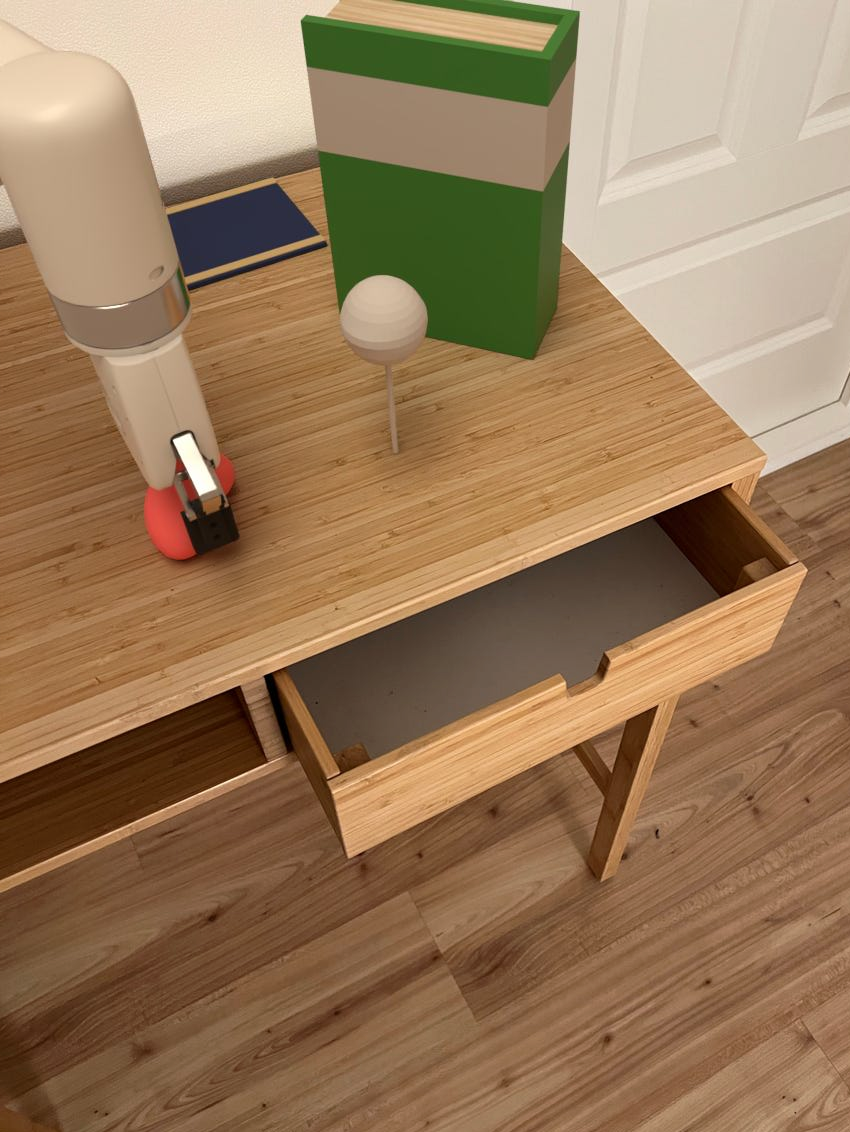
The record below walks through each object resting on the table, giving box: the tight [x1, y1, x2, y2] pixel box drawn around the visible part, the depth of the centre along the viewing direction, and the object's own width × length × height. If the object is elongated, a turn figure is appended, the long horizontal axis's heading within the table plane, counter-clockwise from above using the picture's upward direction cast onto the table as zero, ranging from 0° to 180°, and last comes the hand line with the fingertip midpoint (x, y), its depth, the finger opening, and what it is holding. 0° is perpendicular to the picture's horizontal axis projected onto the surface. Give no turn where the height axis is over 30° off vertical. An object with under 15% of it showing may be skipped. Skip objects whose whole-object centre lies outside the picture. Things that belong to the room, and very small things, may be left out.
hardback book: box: [300, 0, 581, 361], centre depth 78 cm, size 18×7×24 cm, turn 72°
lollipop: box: [339, 275, 428, 454], centre depth 71 cm, size 6×6×15 cm
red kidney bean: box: [143, 452, 236, 561], centre depth 72 cm, size 5×9×6 cm, turn 157°
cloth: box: [165, 176, 328, 291], centre depth 94 cm, size 18×13×1 cm
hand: (192, 500), depth 72 cm, fingers open, 9 cm apart
